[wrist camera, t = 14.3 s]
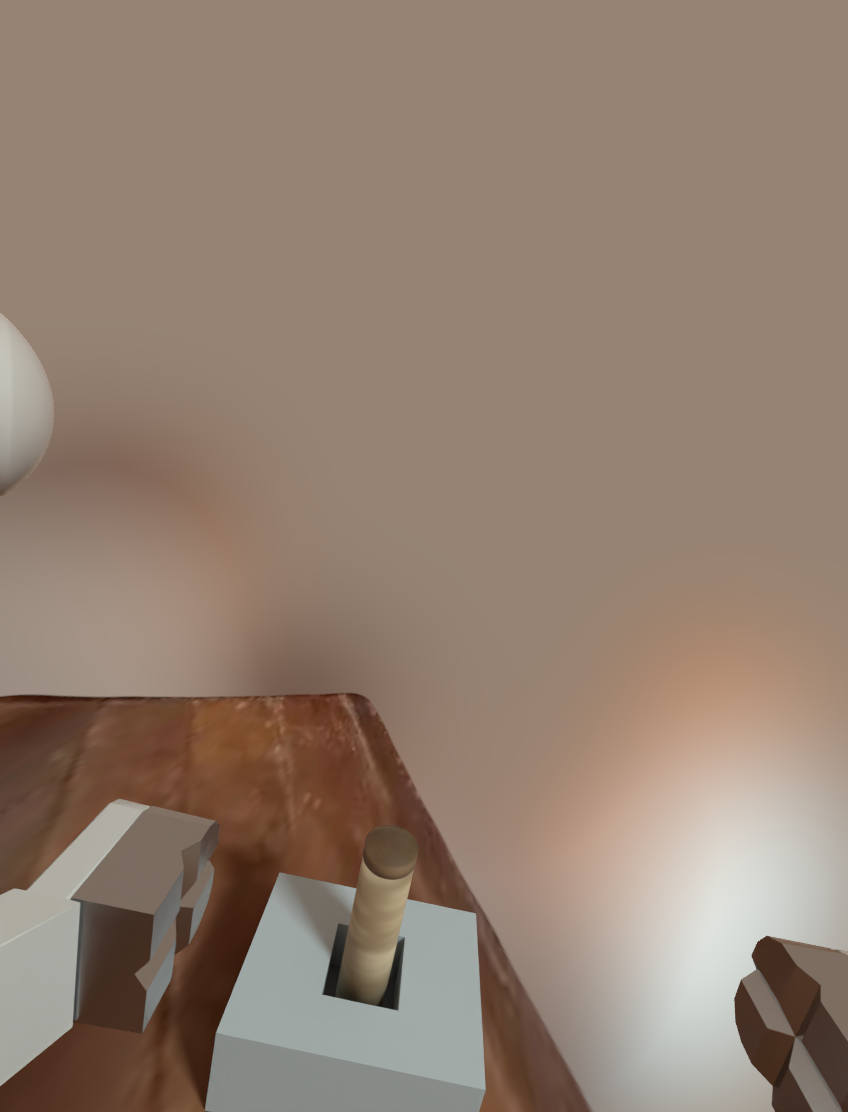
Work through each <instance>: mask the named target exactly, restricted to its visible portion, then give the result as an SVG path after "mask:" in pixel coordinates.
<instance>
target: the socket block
mask: <svg viewBox="0 0 848 1112" xmlns="http://www.w3.org/2000/svg"><path fill="white" fill-rule="evenodd" d="M355 893H356V888H351V887H346V886H342V885H337V884H332V883H327V882H323V881H318V880H313V879H308V878H304V877H299V876H294V875H289V874H285V873H279V875H278V878H277V880H276V883H275V885H274V888H273V890H272V893H271V895H270V898H269V901H268V903H267V906H266V908H265V911H264V913H263V916H262V918H261V921H260V923H259V926H258V928H257V931H256V933H255V936H254V938H253V941H252V943H251V946H250V948H249V951H248V953H247V956H246V958H245V961H244V964H243V966H242V969H241V971H240V974H239V976H238V979H237V981H236V984H235V986H234V989H233V991H232V994H231V996H230V999H229V1001H228V1004H227V1006H226V1009H225V1011H224V1014H223V1016H222V1019H221V1021H220V1024H219V1027H218V1029H217V1032H216V1036H215V1043H214V1050H213V1057H212V1064H211V1071H210V1078H209V1085H208V1092H207V1099H206V1106H205V1111H210V1112H479V1110H480V1106H481V1103H482V1100H483V1097H484V1093H485V1090H486V1089H485V1071H484V1052H483V1034H482V1016H481V998H480V980H479V962H478V944H477V926H476V914H475V913H470V912H465V911H461V910H456V909H451V908H446V907H442V906H437V905H432V904H427V903H423V902H418V901H413V900H408V899H407V901H406V906H405V910H404V915H403V919H402V923H401V928H400V932H399V937H398V941H397V945H396V950H395V954H394V959H393V963H392V967H391V972H390V976H389V981H388V985H387V989H386V994H385V998H384V1002H383V1007H378V1006H373V1005H368V1004H364V1003H359V1002H354V1001H350V1000H345V999H340V998H335V993H336V988H337V983H338V978H339V973H340V968H341V963H342V958H343V953H344V948H345V943H346V938H347V933H348V928H349V923H350V918H351V913H352V908H353V903H354V898H355Z"/></svg>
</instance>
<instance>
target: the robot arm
mask: <svg viewBox="0 0 848 1112" xmlns="http://www.w3.org/2000/svg"><path fill="white" fill-rule="evenodd" d="M53 424H54V404H53V396H52V392H51V388H50V384H49V381H48V378H47V376H46V373H45V371H44V368H43V366H42V364H41V362H40V361H39V359H38V357H37V355H36V354H35V352H34V351H33V349H32V348H31V346H30V345H29V343H28V342H27V341H26V339H25V338H24V337H23V336H22V334H21V333H20V332H19V331H18V329H17V328H16V327H15V326H14V325H13V324H12V323H11V322H9V320H8V319H7V318H6V317H5V316H3V315H2V314H1V313H0V496H3V495H5V494H7V493H8V492H9V491H11V490H13V489H14V488H16V487H17V486H18V485H19V484H20V483H22V481H24V480H25V479H26V478H27V477H28V476H29V475H30V474H31V472H33V470H34V469H35V468H36V466H37V465H38V464H39V462H40V461H41V459H42V458H43V456H44V454H45V451H46V450H47V447H48V444H49V442H50V439H51V436H52V431H53ZM218 836H219V824H218V823H217V821H214V820H209V819H205V818H201V817H197V816H193V815H188V814H184V813H180V812H176V811H171V810H167V809H163V808H159V807H155V806H152V807H150V806H146V805H142V804H138V803H134V802H130V801H126V800H122V799H118V800H116V801H114V802H112V803H110V804H108V805H107V806H106V807H105V808H104V809H103V810H102V811H101V812H100V813H99V814H98V815H97V817H96V818H95V819H94V820H93V821H92V822H91V823H90V824H89V825H88V826H87V827H86V828H85V829H84V830H83V831H82V832H81V833H80V834H79V835H78V836H77V837H76V839H75V840H74V841H73V842H72V843H71V844H70V845H69V846H68V847H67V848H66V849H65V850H64V851H63V852H62V853H61V854H60V855H59V856H58V857H57V858H56V859H55V860H54V862H53V863H52V864H51V865H50V866H49V867H48V868H47V869H46V870H45V871H44V872H43V873H42V874H41V875H40V876H39V877H38V878H37V879H36V880H35V881H34V882H33V884H32V885H31V886H30V887H29V888H28V889H27V890H21V889H15V888H14V889H12V890H10V891H8V892H6V893H3V894H1V895H0V1086H1V1085H2V1084H3V1083H5V1082H6V1081H7V1080H8V1079H10V1078H11V1077H12V1076H13V1075H14V1074H16V1073H17V1072H18V1071H19V1070H21V1069H22V1068H23V1067H24V1066H25V1065H27V1064H28V1063H29V1062H30V1061H32V1060H33V1059H34V1058H35V1057H36V1056H38V1055H39V1054H40V1053H41V1052H43V1051H44V1050H45V1049H46V1048H47V1047H49V1046H50V1045H51V1044H52V1043H54V1042H55V1041H56V1040H57V1039H58V1038H60V1037H61V1036H62V1035H63V1034H65V1033H66V1032H67V1031H68V1030H69V1029H71V1028H72V1026H73V1022H78V1023H84V1024H90V1025H95V1026H101V1027H107V1028H113V1029H118V1030H124V1031H130V1032H136V1033H141V1034H142V1033H143V1031H144V1029H145V1027H146V1026H147V1024H148V1022H149V1020H150V1018H151V1016H152V1014H153V1012H154V1010H155V1008H156V1007H157V1005H158V1003H159V1001H160V999H161V997H162V995H163V993H164V991H165V989H166V988H167V986H168V984H169V982H170V980H171V978H172V970H173V962H174V955H175V954H177V953H178V952H180V951H181V950H182V949H184V948H185V947H187V946H188V945H189V944H190V942H191V940H192V938H193V936H194V934H195V932H196V930H197V928H198V926H199V923H200V921H201V918H202V915H203V913H204V910H205V908H206V905H207V902H208V899H209V895H210V891H211V887H212V883H213V876H214V868H213V866H212V864H211V863H210V861H209V858H210V857H211V855H212V853H213V851H214V850H215V848H216V846H217V844H218ZM752 958H753V961H754V964H755V966H756V969H757V970H755V971H754V972H752V973H751V974H749V975H748V976H746V977H745V978H743V979H742V980H741V982H740V985H739V987H738V990H737V993H736V996H735V998H734V999H735V1019H736V1025H737V1028H738V1032H739V1035H740V1039H741V1042H742V1044H743V1046H744V1048H745V1050H746V1053H747V1055H748V1057H749V1059H750V1061H751V1063H752V1064H753V1066H754V1067H755V1068H757V1070H758V1071H759V1072H760V1073H761V1074H762V1075H763V1076H764V1077H765V1078H766V1079H767V1080H768V1081H769V1083H770V1084H771V1085H772V1086H773V1093H772V1106H773V1108H774V1110H775V1112H848V951H842V950H833V949H830V948H825V947H820V946H815V945H810V944H805V943H800V942H795V941H790V940H785V939H780V938H775V937H770V936H766V937H764V938H763V939H761V940H760V941H758V942H757V944H756V947H755V949H754V951H753V953H752Z"/></svg>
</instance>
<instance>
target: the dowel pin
mask: <svg viewBox="0 0 848 1112" xmlns="http://www.w3.org/2000/svg"><path fill="white" fill-rule="evenodd" d="M417 855H418V844H417V842H416V840H415V838H414V837H413V836H412V835H411V834H410V833H409V832H408V831H406V830H405V829H403V828H400V827H397V826H393V825H383V826H379V827H376V828H374V829H373V830H372V831H370V832H369V834H368V835H367V837H366V841H365V846H364V851H363V858H362V863H361V868H360V873H359V878H358V883H357V888H356V893H355V898H354V903H353V908H352V913H351V918H350V923H349V928H348V933H347V938H346V943H345V948H344V953H343V958H342V963H341V968H340V973H339V978H338V983H337V988H336V993H335V998H340V999H345V1000H350V1001H354V1002H359V1003H364V1004H368V1005H373V1006H378V1007H383V1002H384V998H385V994H386V989H387V985H388V981H389V976H390V972H391V967H392V963H393V959H394V954H395V950H396V945H397V941H398V937H399V932H400V928H401V923H402V919H403V915H404V910H405V906H406V901H407V897H408V893H409V888H410V884H411V879H412V875H413V871H414V867H415V863H416V859H417Z"/></svg>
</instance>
